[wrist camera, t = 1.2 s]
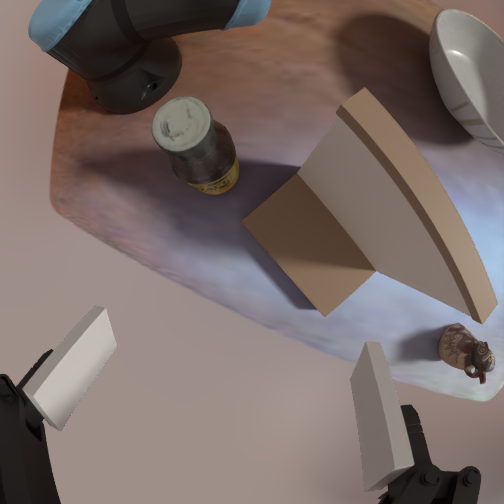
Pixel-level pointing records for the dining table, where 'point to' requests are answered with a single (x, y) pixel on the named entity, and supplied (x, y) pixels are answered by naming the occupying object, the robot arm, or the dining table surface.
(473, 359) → the figurine
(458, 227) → the upright board stand
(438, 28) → the decorative bowl
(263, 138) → the dining table surface
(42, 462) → the robot arm
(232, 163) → the sauce bottle
